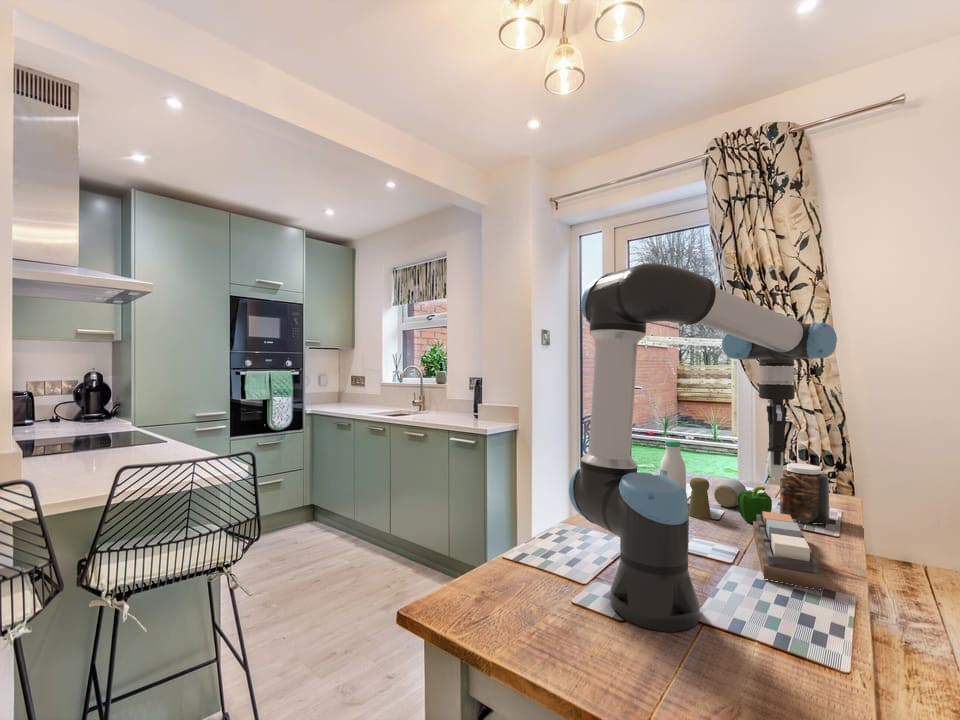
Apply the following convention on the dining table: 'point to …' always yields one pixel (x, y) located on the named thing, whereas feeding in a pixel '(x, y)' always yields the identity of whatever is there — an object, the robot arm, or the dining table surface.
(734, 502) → the ceramic mug
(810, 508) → the jar
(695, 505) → the pepper mill
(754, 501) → the bell pepper
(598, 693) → the dining table surface
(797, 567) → the block tray
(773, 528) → the slate block
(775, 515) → the terracotta block
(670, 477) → the milk bottle
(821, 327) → the robot arm
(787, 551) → the cream block
